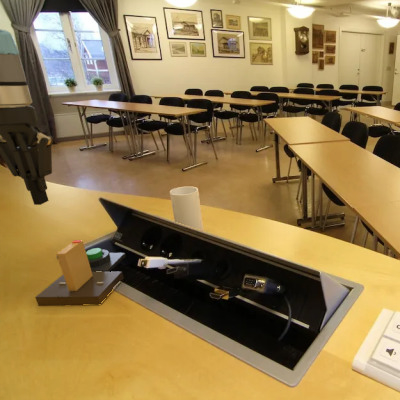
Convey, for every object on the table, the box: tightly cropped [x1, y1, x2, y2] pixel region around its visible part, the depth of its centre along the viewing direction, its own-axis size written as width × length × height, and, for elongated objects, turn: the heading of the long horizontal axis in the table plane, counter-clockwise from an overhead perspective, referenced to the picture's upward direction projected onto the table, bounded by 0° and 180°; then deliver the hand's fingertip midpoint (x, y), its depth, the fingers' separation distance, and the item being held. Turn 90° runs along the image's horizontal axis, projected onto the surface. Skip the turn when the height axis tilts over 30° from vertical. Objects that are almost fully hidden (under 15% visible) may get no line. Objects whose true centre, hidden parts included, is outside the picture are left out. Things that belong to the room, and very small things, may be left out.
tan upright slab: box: [56, 239, 93, 291], centre depth 75 cm, size 6×2×10 cm, turn 1°
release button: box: [86, 247, 103, 260], centre depth 88 cm, size 4×4×2 cm
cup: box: [169, 185, 205, 232], centre depth 103 cm, size 8×8×16 cm
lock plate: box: [34, 271, 125, 307], centre depth 78 cm, size 14×10×3 cm
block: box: [88, 249, 127, 272], centre depth 89 cm, size 11×9×3 cm
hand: (41, 202), depth 80 cm, fingers closed
